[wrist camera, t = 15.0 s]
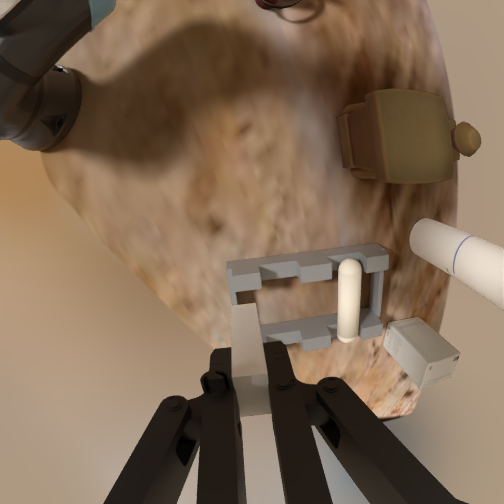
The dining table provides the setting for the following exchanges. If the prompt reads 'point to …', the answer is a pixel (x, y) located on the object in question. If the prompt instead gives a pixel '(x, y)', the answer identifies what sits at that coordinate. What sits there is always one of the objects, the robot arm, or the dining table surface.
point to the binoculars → (272, 4)
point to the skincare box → (420, 351)
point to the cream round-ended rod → (348, 299)
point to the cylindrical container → (461, 257)
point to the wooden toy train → (403, 137)
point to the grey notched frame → (310, 270)
